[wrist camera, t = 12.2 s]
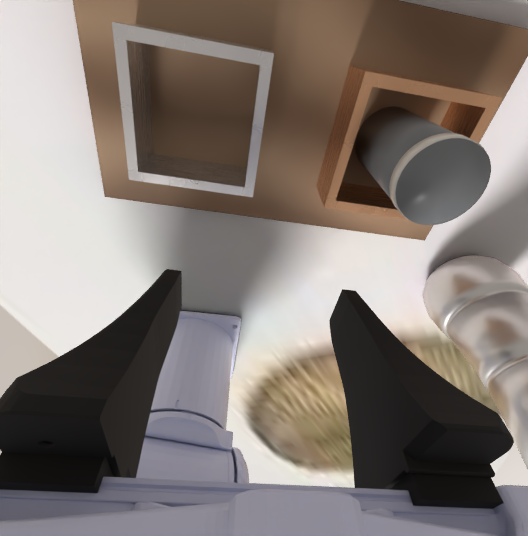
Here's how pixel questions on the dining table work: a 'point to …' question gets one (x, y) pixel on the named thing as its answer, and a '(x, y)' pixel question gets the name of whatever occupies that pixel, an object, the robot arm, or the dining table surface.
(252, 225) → the dining table surface
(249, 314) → the dining table surface
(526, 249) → the dining table surface
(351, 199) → the copper collar
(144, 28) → the steel collar
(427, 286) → the plastic bottle
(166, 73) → the walnut board
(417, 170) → the grey domed cylinder
